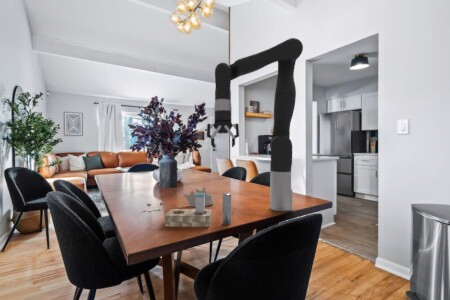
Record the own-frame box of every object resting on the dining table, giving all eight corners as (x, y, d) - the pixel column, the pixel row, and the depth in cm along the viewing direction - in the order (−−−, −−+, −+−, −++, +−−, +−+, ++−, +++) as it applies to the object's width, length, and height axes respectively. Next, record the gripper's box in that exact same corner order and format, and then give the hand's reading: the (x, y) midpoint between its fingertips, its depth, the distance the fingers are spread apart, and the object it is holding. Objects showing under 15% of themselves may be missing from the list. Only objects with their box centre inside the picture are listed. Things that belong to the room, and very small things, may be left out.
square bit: (204, 221, 90) (204, 192, 90) (204, 224, 87) (203, 194, 87) (196, 221, 90) (196, 192, 90) (195, 224, 87) (195, 194, 87)
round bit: (231, 221, 90) (231, 193, 90) (231, 224, 87) (231, 194, 86) (222, 221, 90) (222, 193, 90) (222, 224, 87) (222, 194, 87)
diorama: (144, 214, 101) (144, 206, 101) (146, 200, 127) (146, 193, 127) (166, 212, 104) (166, 204, 104) (164, 198, 129) (164, 192, 129)
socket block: (211, 219, 93) (211, 209, 92) (209, 226, 85) (209, 215, 84) (170, 219, 93) (170, 209, 93) (165, 226, 85) (165, 215, 85)
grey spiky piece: (207, 206, 108) (199, 186, 109) (189, 213, 112) (181, 193, 114) (220, 200, 120) (212, 181, 121) (203, 206, 124) (196, 188, 125)
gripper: (238, 111, 109) (238, 147, 109) (207, 111, 109) (207, 147, 110) (239, 109, 101) (239, 147, 102) (206, 109, 102) (206, 147, 102)
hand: (223, 147), depth 106 cm, fingers open, 8 cm apart
